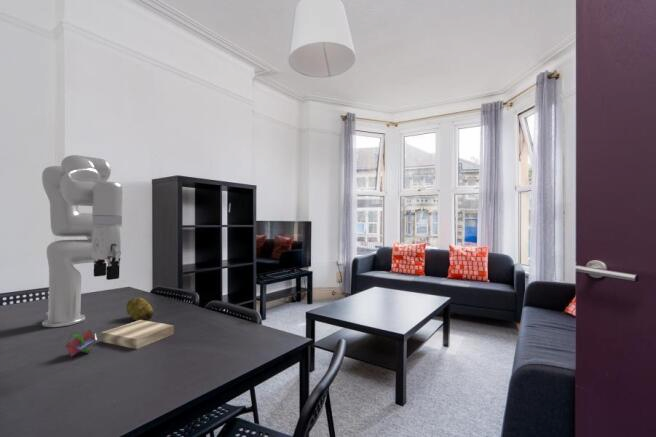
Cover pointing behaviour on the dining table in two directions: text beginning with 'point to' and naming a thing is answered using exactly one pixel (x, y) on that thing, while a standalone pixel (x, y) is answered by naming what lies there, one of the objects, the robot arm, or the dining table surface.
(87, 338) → the geometric puzzle
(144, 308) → the potato
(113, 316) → the dining table surface
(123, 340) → the birch platform
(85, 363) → the dining table surface
